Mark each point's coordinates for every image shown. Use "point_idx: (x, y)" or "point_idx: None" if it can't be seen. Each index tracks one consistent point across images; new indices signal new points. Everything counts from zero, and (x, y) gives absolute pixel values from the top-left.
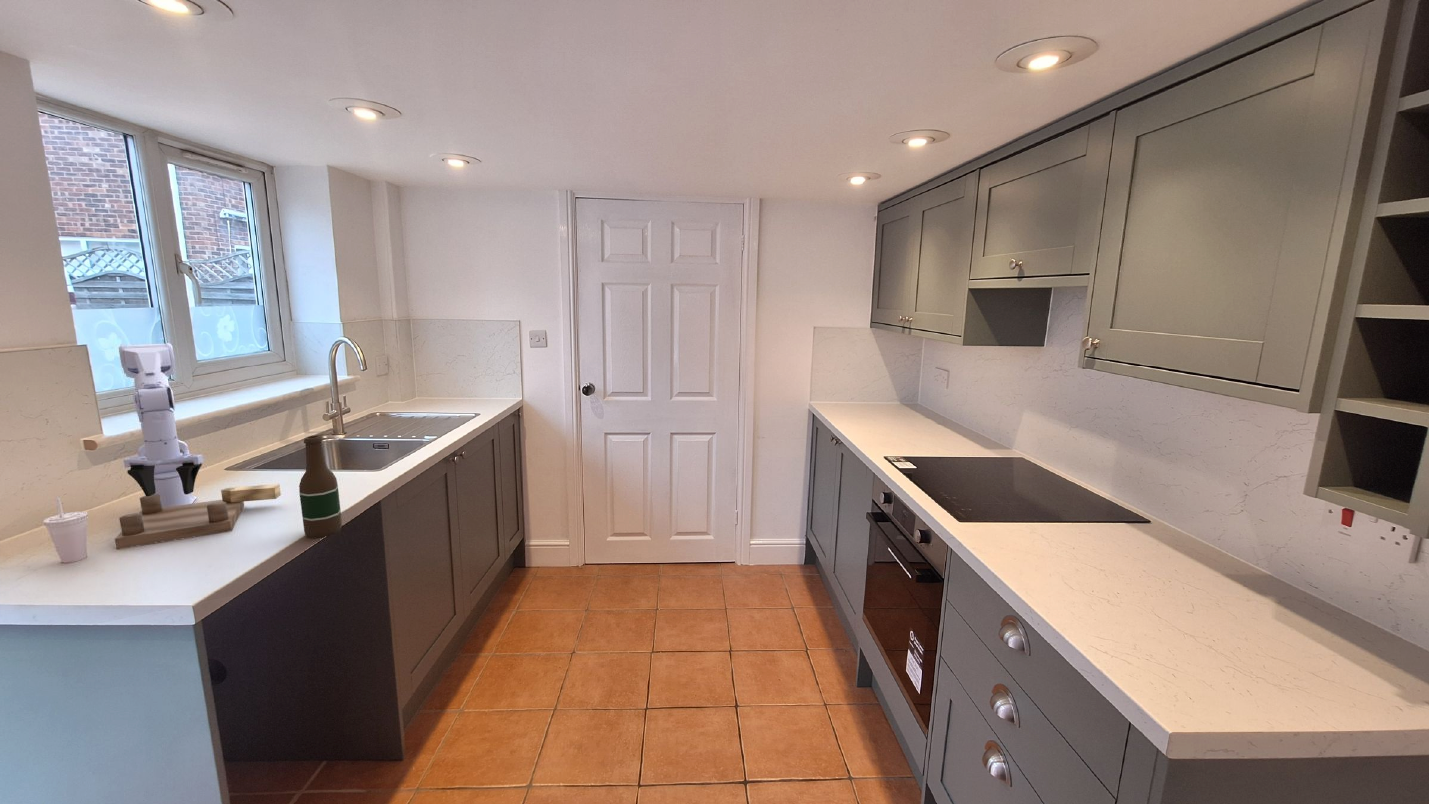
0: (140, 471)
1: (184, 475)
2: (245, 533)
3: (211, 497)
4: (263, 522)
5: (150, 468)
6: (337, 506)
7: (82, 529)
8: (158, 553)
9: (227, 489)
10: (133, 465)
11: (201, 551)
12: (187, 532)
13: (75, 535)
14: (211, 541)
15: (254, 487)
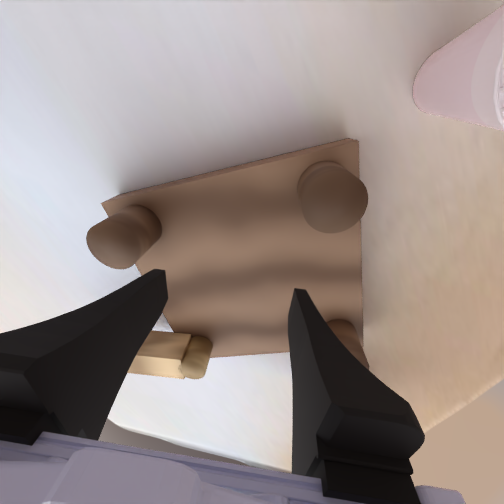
0: (323, 410)
1: (64, 323)
2: (69, 162)
3: (279, 394)
4: (84, 232)
5: (298, 450)
6: None
7: (483, 41)
8: (210, 49)
9: (192, 370)
10: (397, 501)
11: (85, 23)
12: (193, 178)
13: (498, 10)
14: (117, 121)
15: (136, 364)
